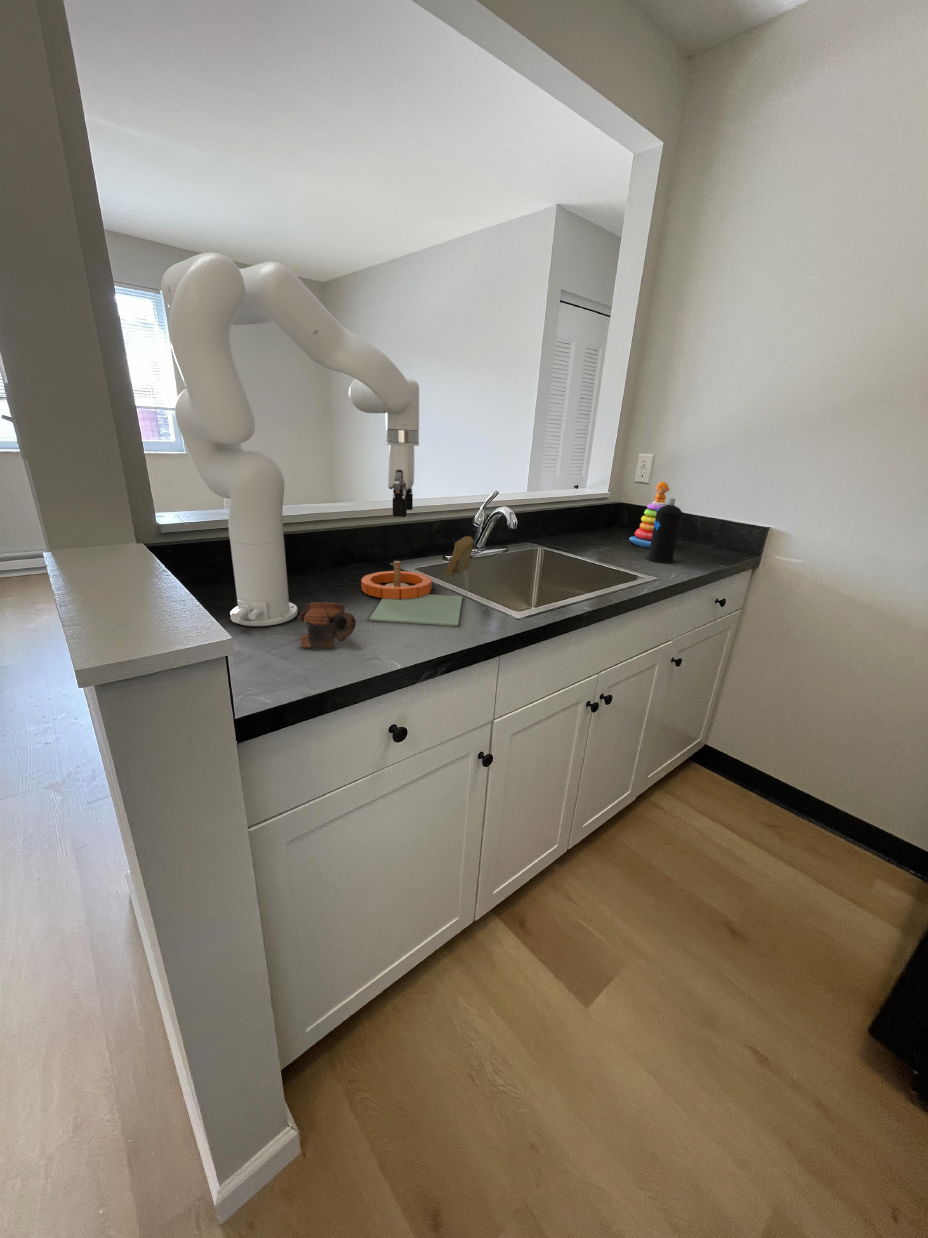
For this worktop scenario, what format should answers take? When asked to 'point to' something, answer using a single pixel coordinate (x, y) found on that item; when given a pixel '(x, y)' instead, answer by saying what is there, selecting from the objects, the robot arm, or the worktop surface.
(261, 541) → the robot arm
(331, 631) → the pottery mug
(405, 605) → the mat
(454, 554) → the rock
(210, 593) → the worktop surface
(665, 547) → the aerosol can
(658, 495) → the stacking toy
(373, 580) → the ring
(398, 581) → the wooden peg disc
